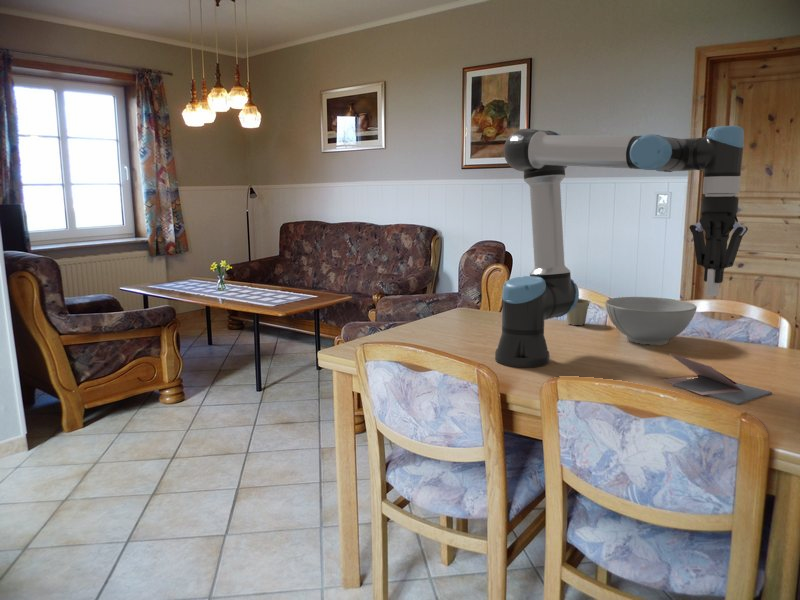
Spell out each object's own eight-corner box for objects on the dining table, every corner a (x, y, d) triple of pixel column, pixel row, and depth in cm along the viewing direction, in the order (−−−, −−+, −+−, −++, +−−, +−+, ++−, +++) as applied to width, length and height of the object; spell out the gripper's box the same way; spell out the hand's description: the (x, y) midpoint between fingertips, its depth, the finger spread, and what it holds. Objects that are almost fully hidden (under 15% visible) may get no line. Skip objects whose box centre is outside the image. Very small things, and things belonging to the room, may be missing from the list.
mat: (737, 404, 131) (737, 402, 131) (672, 385, 145) (672, 384, 145) (771, 393, 138) (771, 391, 138) (706, 376, 152) (706, 375, 152)
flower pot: (557, 322, 219) (558, 299, 217) (579, 320, 222) (580, 298, 220) (572, 327, 210) (573, 303, 209) (594, 325, 213) (595, 302, 211)
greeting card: (699, 372, 154) (745, 387, 139) (684, 396, 154) (728, 414, 139) (669, 349, 151) (712, 363, 136) (653, 374, 151) (695, 390, 136)
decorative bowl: (587, 339, 192) (588, 303, 190) (630, 327, 209) (632, 294, 207) (668, 356, 172) (671, 315, 170) (708, 341, 189) (711, 303, 187)
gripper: (758, 195, 134) (748, 298, 138) (703, 195, 145) (695, 291, 149) (739, 195, 130) (729, 301, 134) (684, 195, 141) (677, 293, 145)
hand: (711, 295), depth 141 cm, fingers closed
